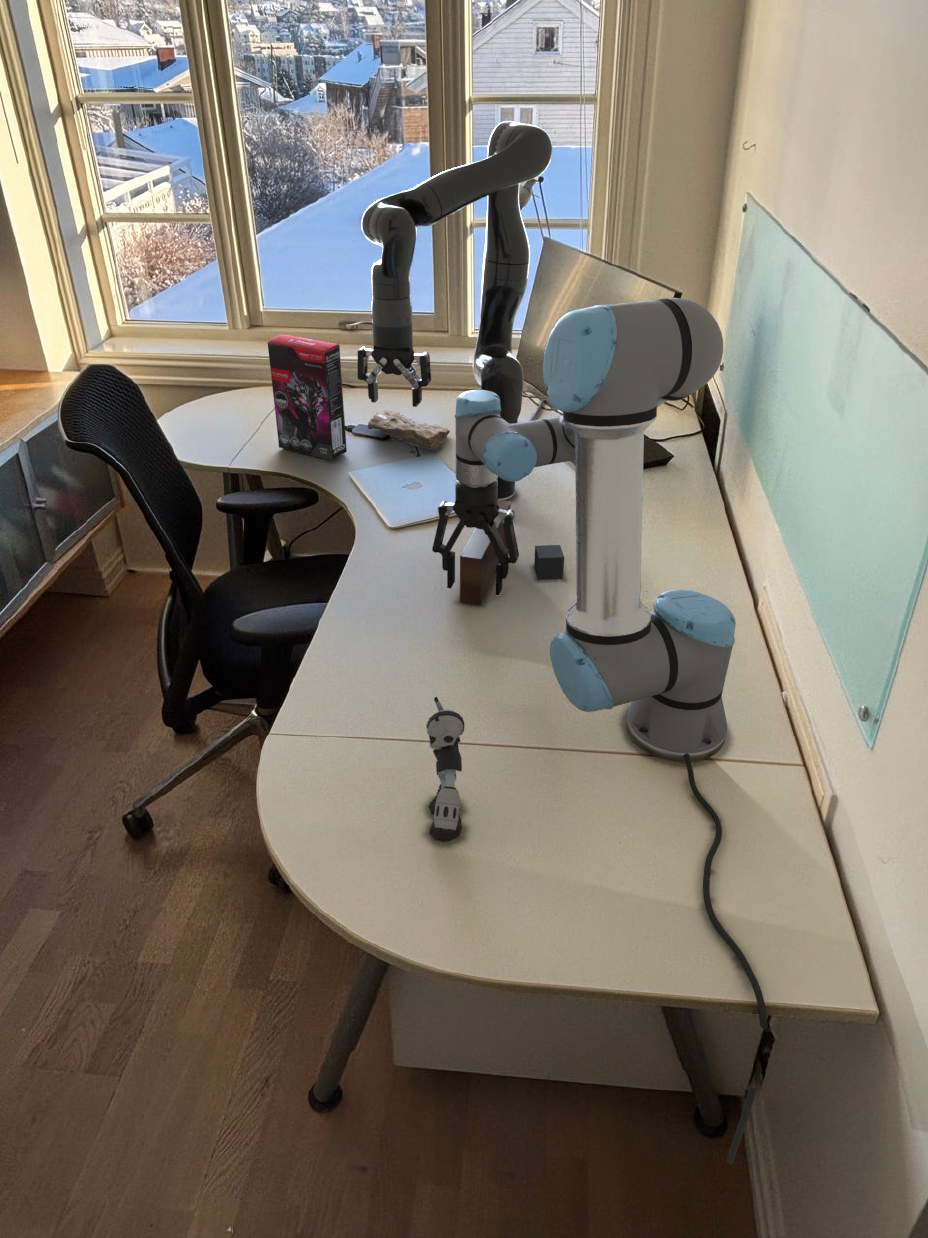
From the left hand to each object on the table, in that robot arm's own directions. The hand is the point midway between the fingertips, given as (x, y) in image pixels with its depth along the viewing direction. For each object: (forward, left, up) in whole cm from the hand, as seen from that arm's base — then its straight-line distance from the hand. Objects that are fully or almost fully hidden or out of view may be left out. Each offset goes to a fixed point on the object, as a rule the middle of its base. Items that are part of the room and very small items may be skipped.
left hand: (395, 403), depth 181 cm
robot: (+78, +33, -28) cm, 89 cm away
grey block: (+9, +34, -28) cm, 45 cm away
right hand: (+20, +22, -27) cm, 40 cm away
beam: (+12, +22, -28) cm, 38 cm away
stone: (-46, -14, -28) cm, 56 cm away
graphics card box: (-33, -34, -28) cm, 55 cm away
